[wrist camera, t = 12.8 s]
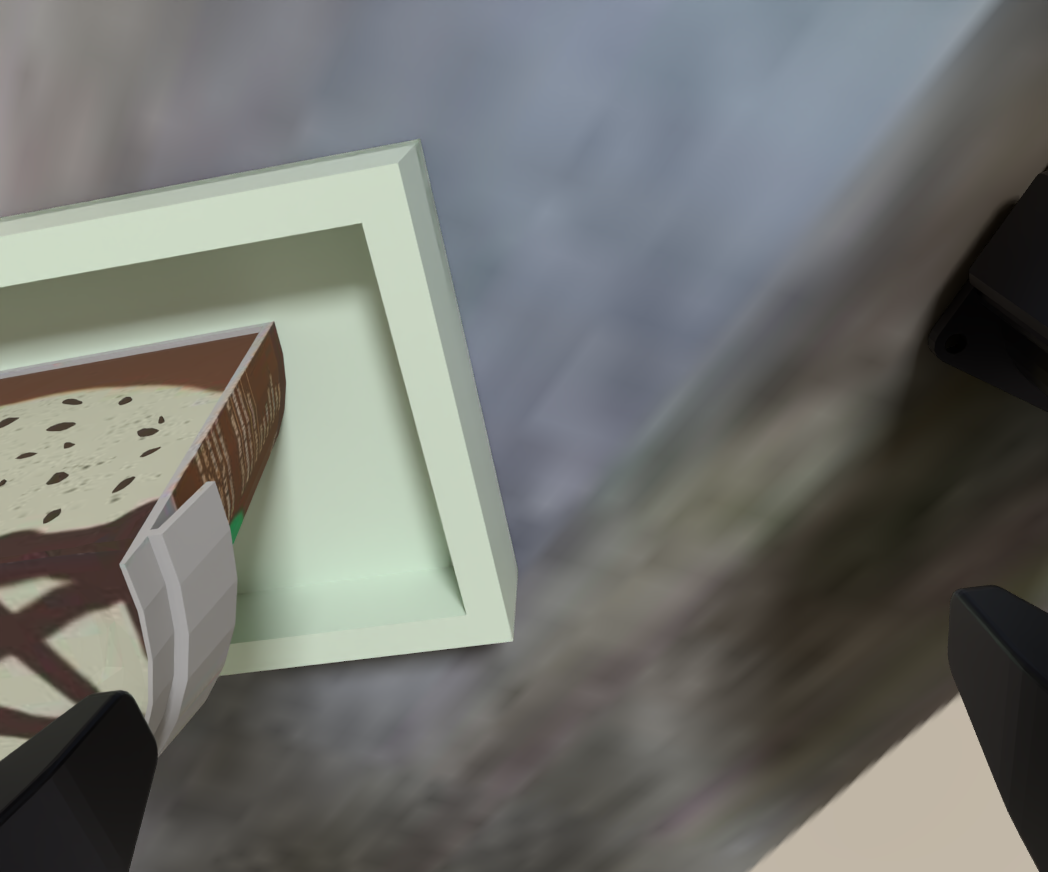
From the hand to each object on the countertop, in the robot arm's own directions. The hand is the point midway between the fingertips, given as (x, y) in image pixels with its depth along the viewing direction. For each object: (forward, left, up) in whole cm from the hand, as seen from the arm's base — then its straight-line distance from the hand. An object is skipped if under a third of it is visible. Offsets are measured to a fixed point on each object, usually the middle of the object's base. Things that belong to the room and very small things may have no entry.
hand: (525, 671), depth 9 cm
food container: (+8, +8, -12) cm, 17 cm away
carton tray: (+8, +8, -13) cm, 17 cm away
